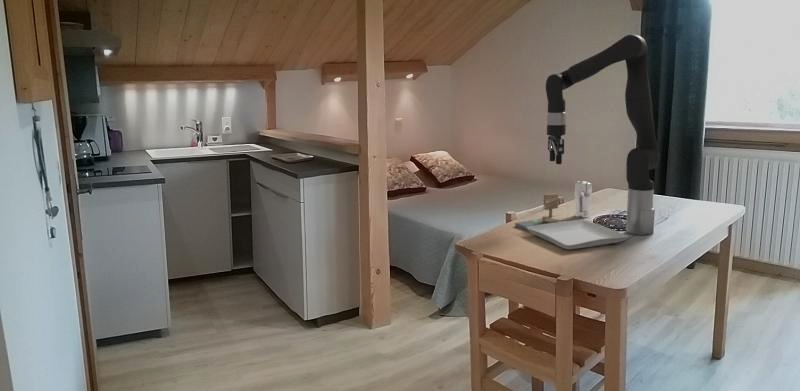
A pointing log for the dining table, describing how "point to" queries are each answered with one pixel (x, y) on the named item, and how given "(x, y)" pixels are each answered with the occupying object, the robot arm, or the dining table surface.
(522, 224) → the tuning board
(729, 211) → the dining table surface
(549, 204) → the knob
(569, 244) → the square plate
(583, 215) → the beer glass
